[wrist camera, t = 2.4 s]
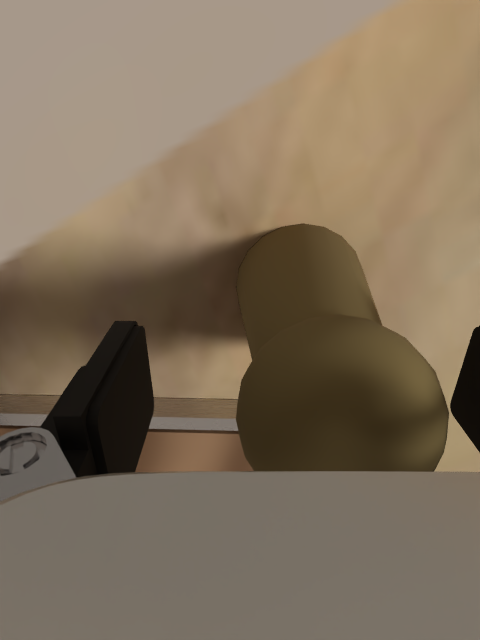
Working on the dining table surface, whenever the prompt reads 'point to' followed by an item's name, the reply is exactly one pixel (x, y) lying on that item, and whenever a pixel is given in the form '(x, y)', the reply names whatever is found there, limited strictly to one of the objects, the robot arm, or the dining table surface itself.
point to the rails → (164, 417)
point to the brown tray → (185, 450)
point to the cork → (329, 366)
